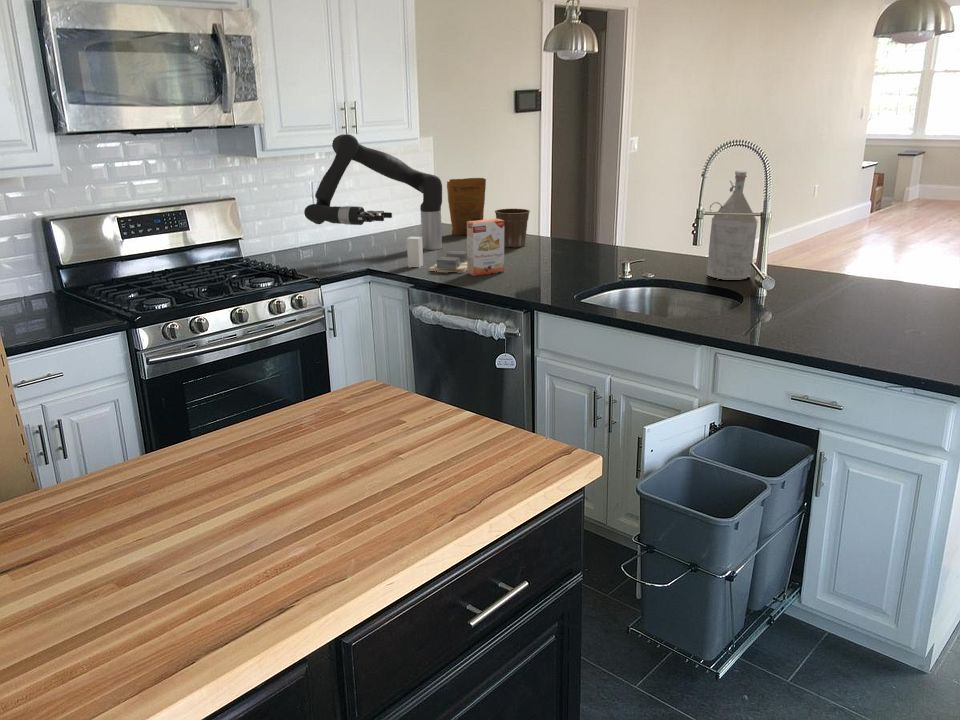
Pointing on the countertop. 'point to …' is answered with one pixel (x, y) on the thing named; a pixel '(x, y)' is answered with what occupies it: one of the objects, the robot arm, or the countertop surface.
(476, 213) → the pancake mix bag
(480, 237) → the cracker box
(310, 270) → the countertop surface
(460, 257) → the board
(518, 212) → the plant pot
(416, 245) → the white block
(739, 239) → the grey jug
